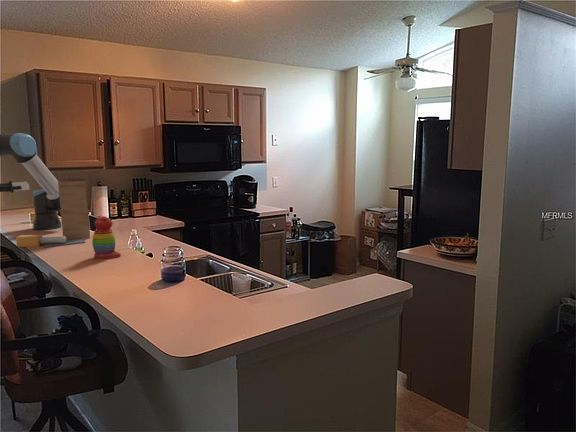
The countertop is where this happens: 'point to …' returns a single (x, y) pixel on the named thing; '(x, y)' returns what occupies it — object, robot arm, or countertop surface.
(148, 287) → the countertop surface
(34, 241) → the screwdriver
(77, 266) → the countertop surface
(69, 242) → the mat
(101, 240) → the stacking bear
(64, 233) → the stand
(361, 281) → the countertop surface
